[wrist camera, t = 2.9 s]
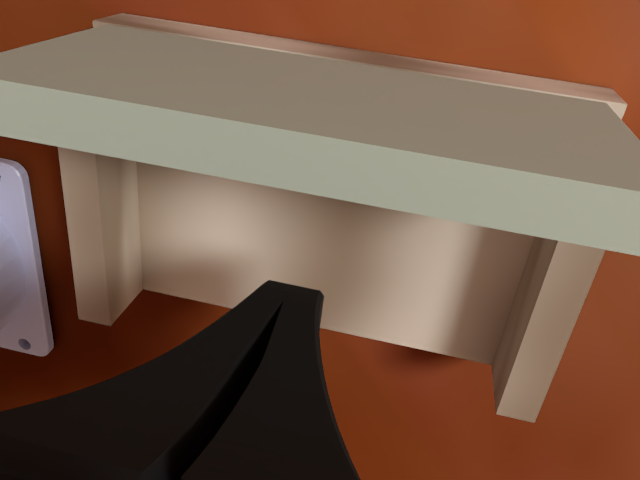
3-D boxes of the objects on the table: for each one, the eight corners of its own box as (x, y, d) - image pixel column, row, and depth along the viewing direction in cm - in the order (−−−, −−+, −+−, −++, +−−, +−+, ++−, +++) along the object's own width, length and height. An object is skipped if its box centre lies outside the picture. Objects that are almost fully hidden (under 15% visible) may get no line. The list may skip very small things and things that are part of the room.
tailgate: (102, 64, 15) (-59, 124, 10) (99, 23, 14) (-72, 67, 10) (600, 146, 13) (679, 263, 9) (615, 104, 13) (708, 203, 8)
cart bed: (136, 259, 20) (78, 319, 17) (121, 13, 16) (43, 32, 13) (520, 340, 18) (534, 422, 15) (611, 88, 14) (654, 131, 11)
